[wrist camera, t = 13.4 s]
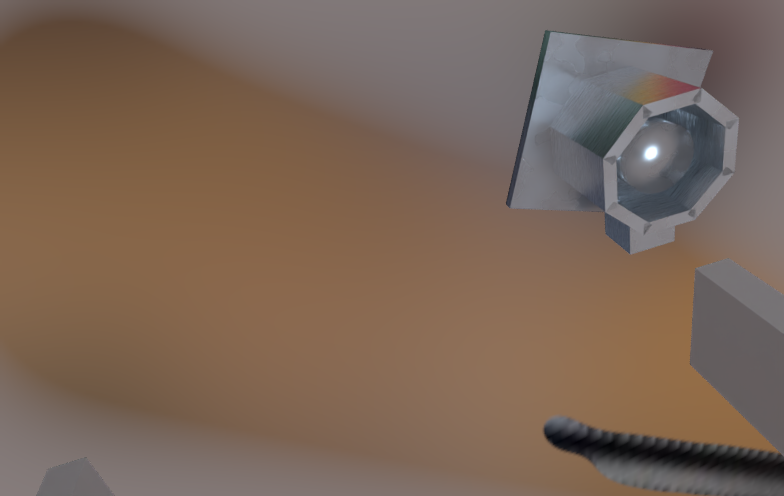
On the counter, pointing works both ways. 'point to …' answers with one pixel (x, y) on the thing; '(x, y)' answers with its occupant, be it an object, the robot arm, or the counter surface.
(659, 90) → the grey piece
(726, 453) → the counter surface
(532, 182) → the square plate with knob
